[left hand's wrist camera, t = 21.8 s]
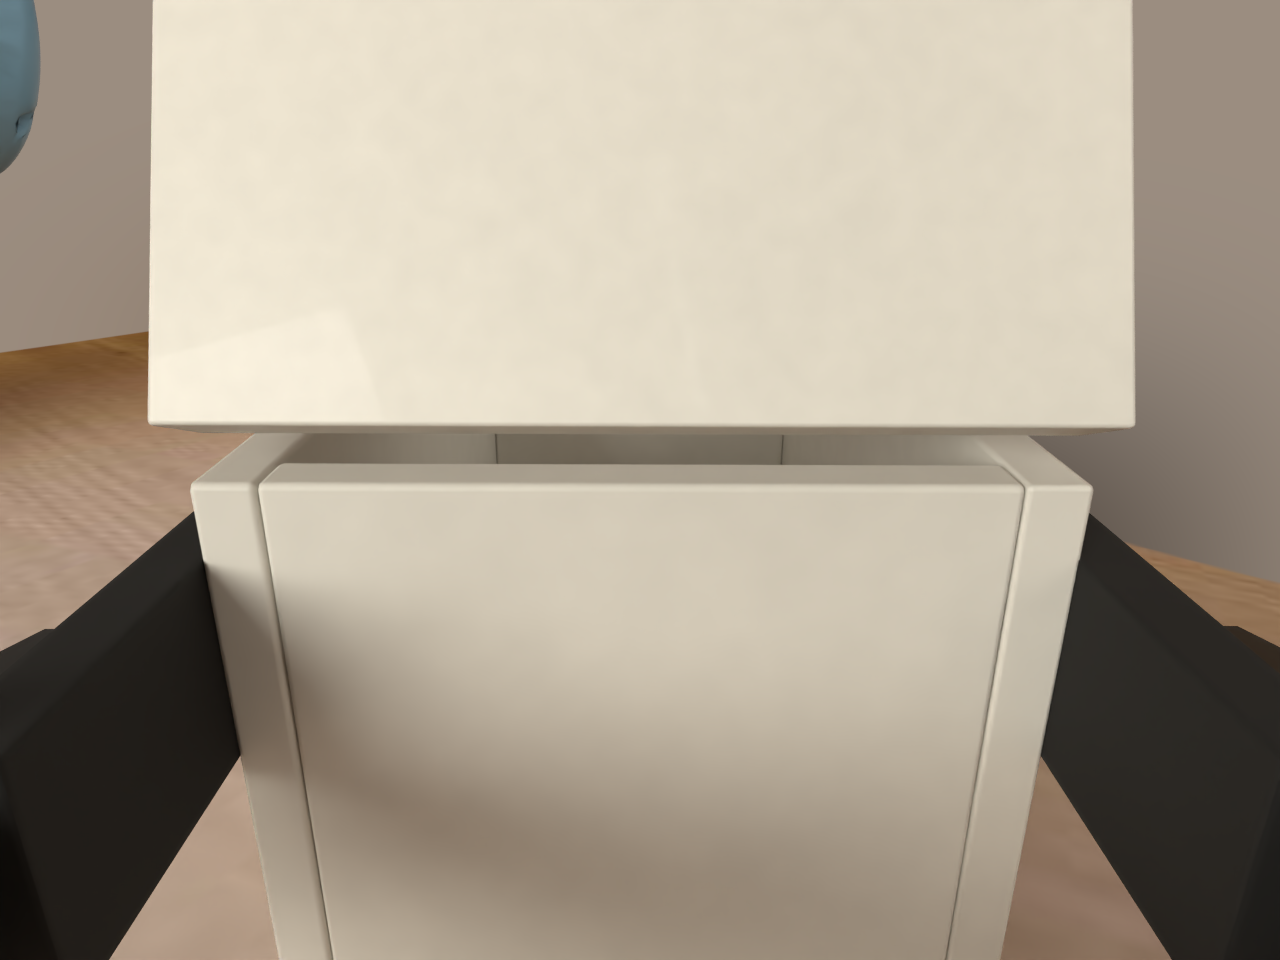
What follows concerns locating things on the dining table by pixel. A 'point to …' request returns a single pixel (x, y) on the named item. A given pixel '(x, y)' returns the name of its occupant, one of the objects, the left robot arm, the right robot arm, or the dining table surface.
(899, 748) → the chest
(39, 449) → the dining table surface
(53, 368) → the dining table surface
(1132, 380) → the lid
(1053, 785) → the dining table surface
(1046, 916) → the dining table surface
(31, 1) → the right robot arm
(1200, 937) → the left robot arm
